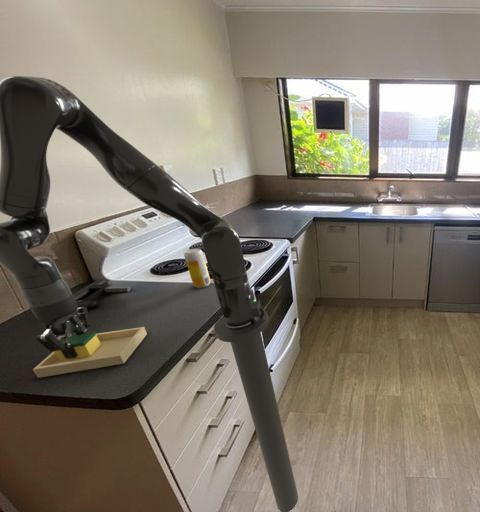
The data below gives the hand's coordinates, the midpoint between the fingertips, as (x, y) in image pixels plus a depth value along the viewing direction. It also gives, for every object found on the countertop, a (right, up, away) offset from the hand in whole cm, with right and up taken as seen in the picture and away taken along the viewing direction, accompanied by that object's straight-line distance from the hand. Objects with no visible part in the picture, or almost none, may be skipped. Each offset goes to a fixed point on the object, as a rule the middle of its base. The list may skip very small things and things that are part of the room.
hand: (79, 350), depth 79 cm
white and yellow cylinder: (+11, +14, +37) cm, 41 cm away
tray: (+4, -1, +1) cm, 4 cm away
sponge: (0, -1, 0) cm, 1 cm away
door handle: (-24, +10, +30) cm, 39 cm away
